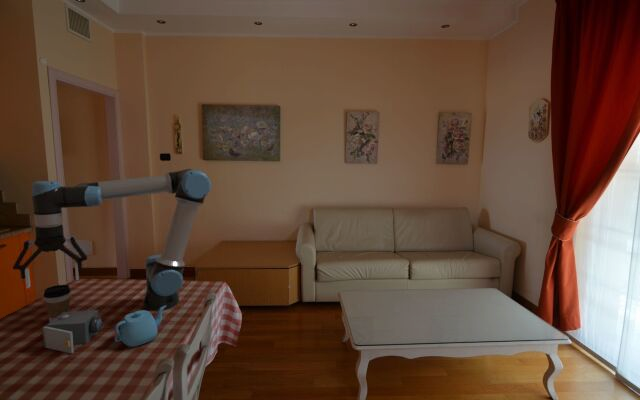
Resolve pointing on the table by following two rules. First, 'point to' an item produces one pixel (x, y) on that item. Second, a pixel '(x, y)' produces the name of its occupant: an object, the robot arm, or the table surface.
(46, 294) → the coffee cup
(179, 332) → the table surface
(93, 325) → the camera case
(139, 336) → the teapot
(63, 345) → the side door
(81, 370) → the table surface
